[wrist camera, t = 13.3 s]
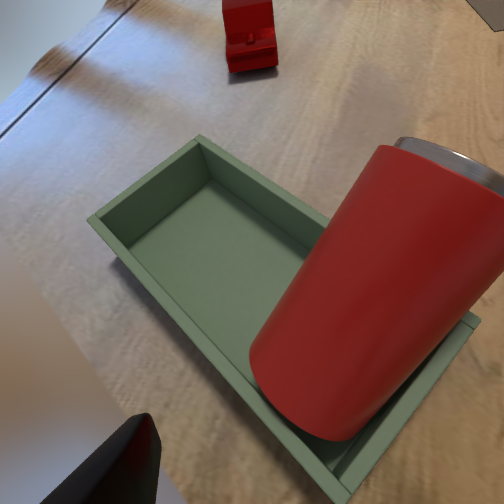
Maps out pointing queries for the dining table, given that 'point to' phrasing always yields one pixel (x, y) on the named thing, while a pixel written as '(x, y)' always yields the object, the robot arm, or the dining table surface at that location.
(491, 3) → the platform
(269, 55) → the toy car
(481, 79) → the dining table surface
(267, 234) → the bin
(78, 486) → the robot arm
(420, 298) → the can
